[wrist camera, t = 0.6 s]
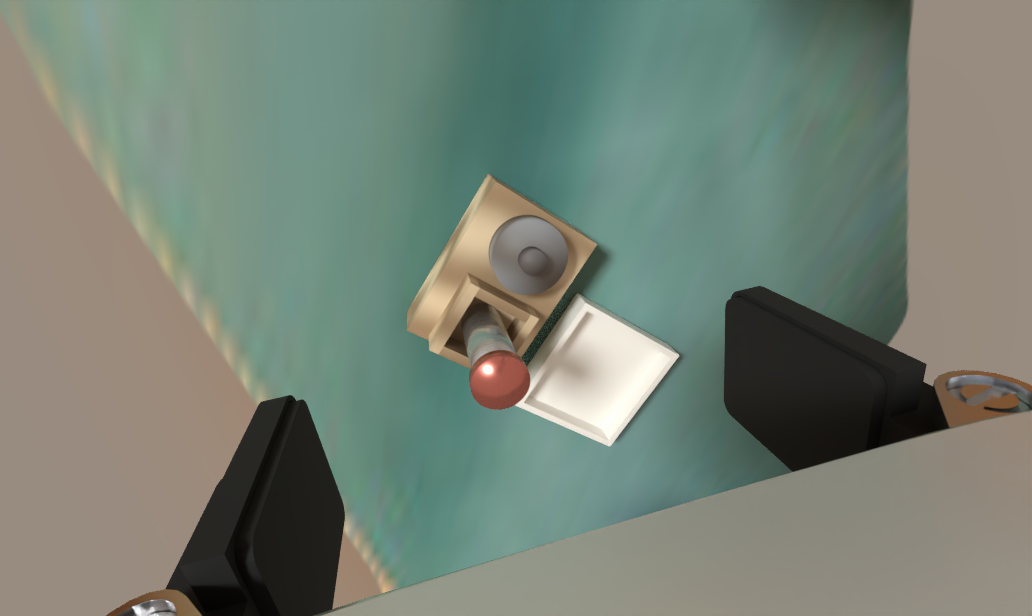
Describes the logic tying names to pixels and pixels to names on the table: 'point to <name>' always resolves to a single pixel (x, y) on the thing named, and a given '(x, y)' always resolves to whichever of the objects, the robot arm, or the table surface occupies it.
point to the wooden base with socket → (498, 270)
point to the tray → (595, 371)
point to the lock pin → (492, 359)
